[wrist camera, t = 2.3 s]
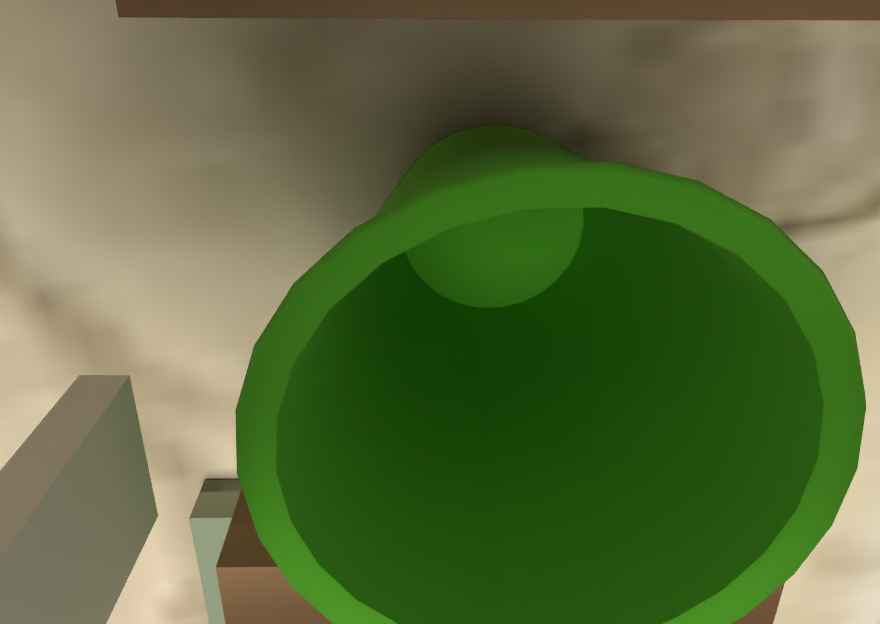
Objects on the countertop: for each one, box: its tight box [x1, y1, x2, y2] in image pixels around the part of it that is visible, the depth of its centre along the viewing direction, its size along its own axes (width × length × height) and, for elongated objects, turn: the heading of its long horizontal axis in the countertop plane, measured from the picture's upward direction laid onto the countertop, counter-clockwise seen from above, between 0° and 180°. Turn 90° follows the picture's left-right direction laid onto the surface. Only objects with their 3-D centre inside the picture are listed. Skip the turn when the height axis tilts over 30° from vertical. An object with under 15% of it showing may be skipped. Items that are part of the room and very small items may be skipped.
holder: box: [116, 0, 880, 624], centre depth 17 cm, size 18×13×7 cm
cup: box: [236, 125, 866, 624], centre depth 16 cm, size 9×9×11 cm
